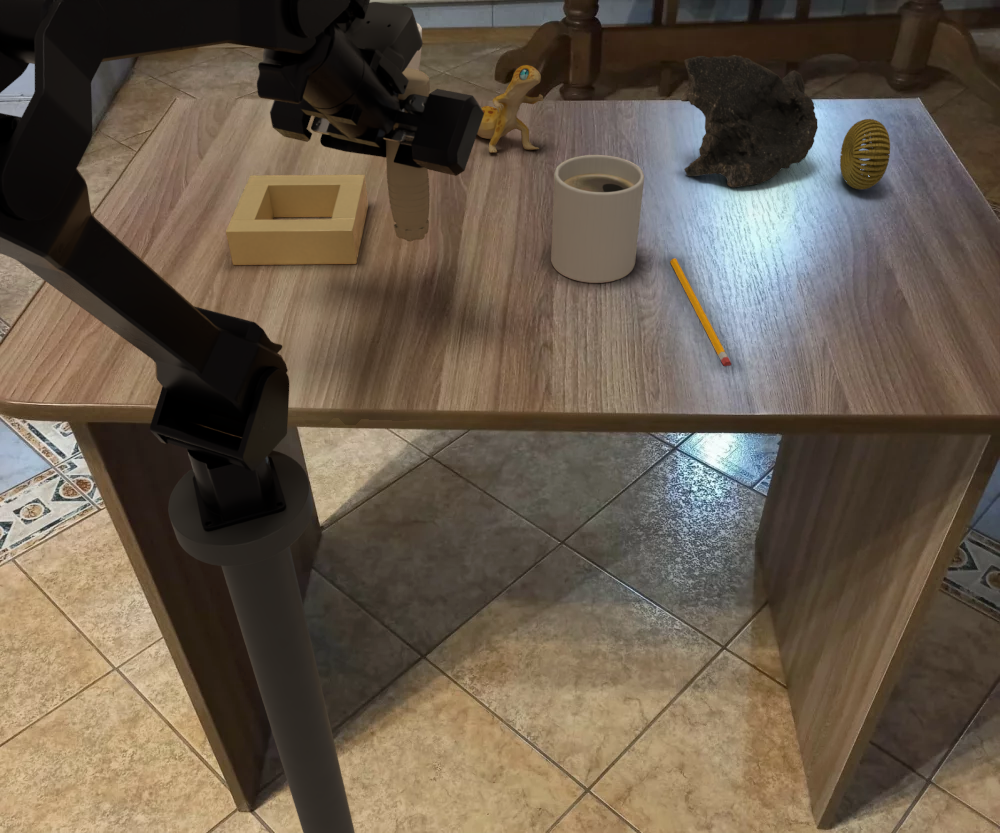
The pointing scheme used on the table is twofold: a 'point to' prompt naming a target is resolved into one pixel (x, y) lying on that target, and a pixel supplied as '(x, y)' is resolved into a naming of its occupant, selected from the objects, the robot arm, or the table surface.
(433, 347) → the table surface
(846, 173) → the sculpture
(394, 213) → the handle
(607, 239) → the mug
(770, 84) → the rock
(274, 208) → the stand
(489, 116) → the toy
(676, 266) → the pencil
